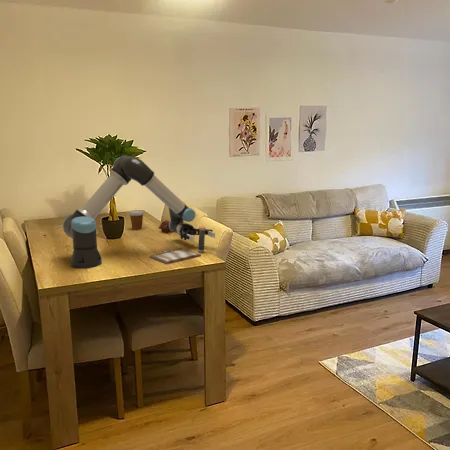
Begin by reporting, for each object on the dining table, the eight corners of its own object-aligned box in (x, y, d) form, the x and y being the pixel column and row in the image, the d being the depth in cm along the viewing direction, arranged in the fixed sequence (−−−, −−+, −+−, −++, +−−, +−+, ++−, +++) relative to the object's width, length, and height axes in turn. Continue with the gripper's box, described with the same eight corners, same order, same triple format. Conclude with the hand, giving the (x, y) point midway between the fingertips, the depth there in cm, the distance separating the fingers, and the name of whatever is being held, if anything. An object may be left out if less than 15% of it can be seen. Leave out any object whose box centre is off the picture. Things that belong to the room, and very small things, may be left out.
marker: (199, 252, 258) (200, 228, 255) (196, 251, 261) (198, 226, 258) (205, 252, 260) (206, 227, 256) (202, 250, 263) (203, 226, 259)
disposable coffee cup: (141, 230, 311) (140, 213, 309) (127, 230, 313) (126, 212, 311) (146, 227, 320) (145, 210, 318) (133, 227, 322) (132, 210, 320)
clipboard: (166, 264, 238) (166, 260, 238) (149, 257, 250) (149, 253, 250) (200, 256, 252) (200, 252, 252) (183, 250, 264) (183, 246, 264)
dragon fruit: (168, 236, 302) (163, 235, 313) (178, 227, 305) (172, 226, 316) (160, 226, 300) (155, 225, 310) (170, 217, 302) (164, 217, 313)
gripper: (204, 233, 280) (223, 240, 263) (166, 239, 267) (183, 247, 250) (204, 220, 279) (223, 227, 261) (165, 226, 265) (183, 233, 248)
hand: (204, 237), depth 255 cm, fingers open, 13 cm apart
